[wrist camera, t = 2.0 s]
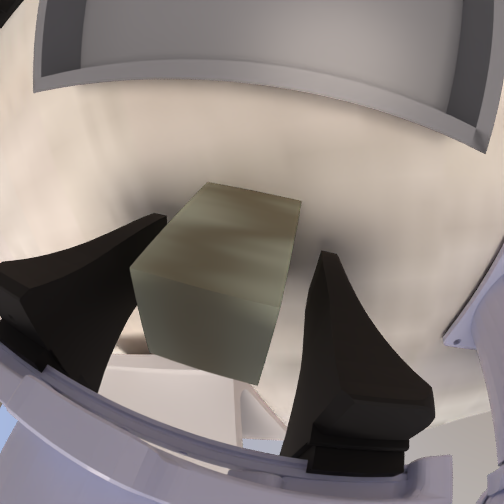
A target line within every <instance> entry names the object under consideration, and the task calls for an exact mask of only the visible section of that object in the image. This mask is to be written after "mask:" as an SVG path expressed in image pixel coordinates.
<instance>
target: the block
mask: <svg viewBox="0 0 504 504" xmlns="http://www.w3.org/2000/svg"><path fill="white" fill-rule="evenodd" d="M301 203H302V201H299V200H294V199H290V198H285V197H281V196H276V195H271V194H266V193H262V192H257V191H252V190H247V189H242V188H237V187H231V186H226V185H221V184H215V183H209V182H207V183H206V184H205V185H204V186H203V187H202V188H201V189H200V190H199V191H198V192H197V193H196V194H195V195H194V196H193V197H192V198H191V200H190V201H189V202H188V203H187V204H186V205H185V206H184V207H183V208H182V209H181V210H180V211H179V212H178V213H177V214H176V215H175V217H174V218H173V219H172V220H171V221H170V222H169V223H168V224H167V225H166V226H165V227H164V229H163V230H162V231H161V232H160V233H159V234H158V235H157V236H156V237H155V239H154V240H153V241H152V242H151V243H150V244H149V245H148V247H147V248H146V249H145V250H144V251H143V252H142V253H141V255H140V256H139V257H138V258H137V259H136V260H135V262H134V263H133V264H132V265H131V266H130V272H131V277H132V283H133V287H134V292H135V297H136V301H137V306H138V310H139V314H140V319H141V323H142V327H143V331H144V334H145V338H146V342H147V346H148V349H149V352H150V353H152V354H155V355H158V356H161V357H163V358H166V359H169V360H172V361H175V362H178V363H181V364H184V365H187V366H190V367H193V368H196V369H199V370H203V371H206V372H209V373H213V374H216V375H219V376H223V377H226V378H230V379H234V380H238V381H241V382H245V383H249V384H253V385H257V386H258V383H259V380H260V376H261V373H262V370H263V366H264V363H265V360H266V356H267V353H268V349H269V346H270V343H271V339H272V336H273V332H274V328H275V325H276V321H277V318H278V314H279V310H280V307H281V302H282V297H283V293H284V288H285V283H286V279H287V274H288V269H289V264H290V259H291V255H292V250H293V245H294V239H295V234H296V229H297V224H298V219H299V213H300V208H301Z"/></svg>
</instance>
